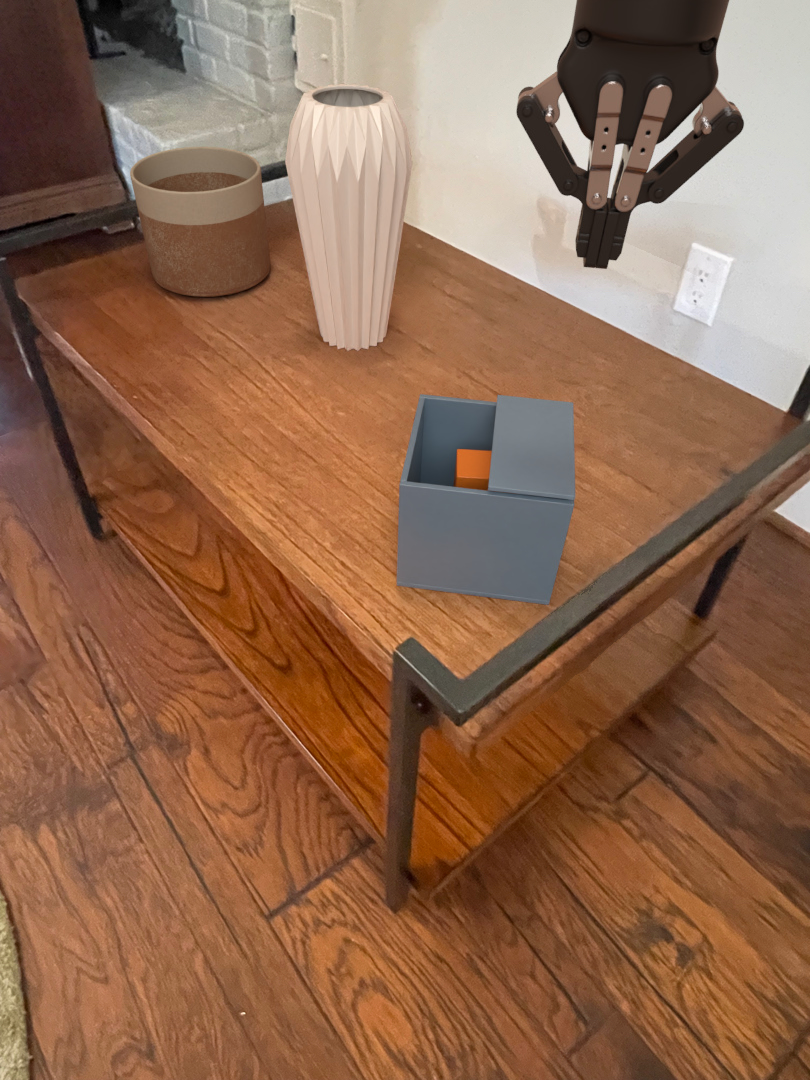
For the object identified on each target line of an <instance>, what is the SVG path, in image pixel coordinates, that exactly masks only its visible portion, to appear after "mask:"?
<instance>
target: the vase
mask: <svg viewBox="0 0 810 1080" xmlns="http://www.w3.org/2000/svg"><path fill="white" fill-rule="evenodd" d="M412 157H413V155H412V150H411V145H410V139H409V134H408V129H407V125H406V123H405V121H404V119H403V116H402V114H401V112H400V109H399V108H398V105H397V104H396V101H395V98H394V97H393V95H392V94H390V93H389V92H388V90H384V89H383V90H382V89H381V88H380V87H372V86H371V87H370V85H368V84H363V85H359V84H357V83H351V84H346V83H339V84H331V83H330V84H327V86H324V85H322V86H321V85H317V87H316V88H309V89H308V90H307V92H303V94H302V95H301V98H300V101H299V103H298V105H297V107H296V110H295V112H294V115H293V116H292V119H291V121H290V125H289V130H288V137H287V145H286V152H285V159H284V162H285V167H286V172H287V177H288V182H289V187H290V192H291V198H292V202H293V208H294V212H295V217H296V221H297V227H298V230H299V232H298V233H299V238H300V241H301V247H302V251H303V256H304V257H303V258H304V261H305V262H304V263H305V266H306V271H307V276H308V280H309V286H310V290H311V295H312V300H313V305H314V311H315V315H316V320H317V324H318V329H319V333H320V337H322V339H323V342H324V343H328V346H329V347H334V346H336V348H337V350H341V349H345V350H346V352H349V351H351V350H355V351H356V352H359V351H361V349H364V350H369V349H370V347H377V346H378V343H384V338H386V337H387V331H388V326H389V319H390V314H391V313H390V312H391V307H392V300H393V293H394V288H395V287H394V286H395V280H396V274H397V269H398V268H397V267H398V262H399V261H398V260H399V254H400V249H401V248H400V247H401V241H402V236H403V229H404V221H405V217H406V208H407V202H408V195H409V189H410V183H411V177H412V176H411V175H412V170H413V169H412V168H413V159H412Z"/></svg>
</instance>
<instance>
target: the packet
mask: <svg viewBox="0 0 810 1080" xmlns="http://www.w3.org/2000/svg"><path fill="white" fill-rule="evenodd" d="M491 453H492V451H485V450H467V449H457V453H456V463H455V474H454V484H453V487H460V488H469V489H477V490H486V491H489V490H488V483H489V473H490V463H491ZM494 492H498V491H494ZM503 493H507V492H503ZM512 494H516V493H512Z"/></svg>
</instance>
